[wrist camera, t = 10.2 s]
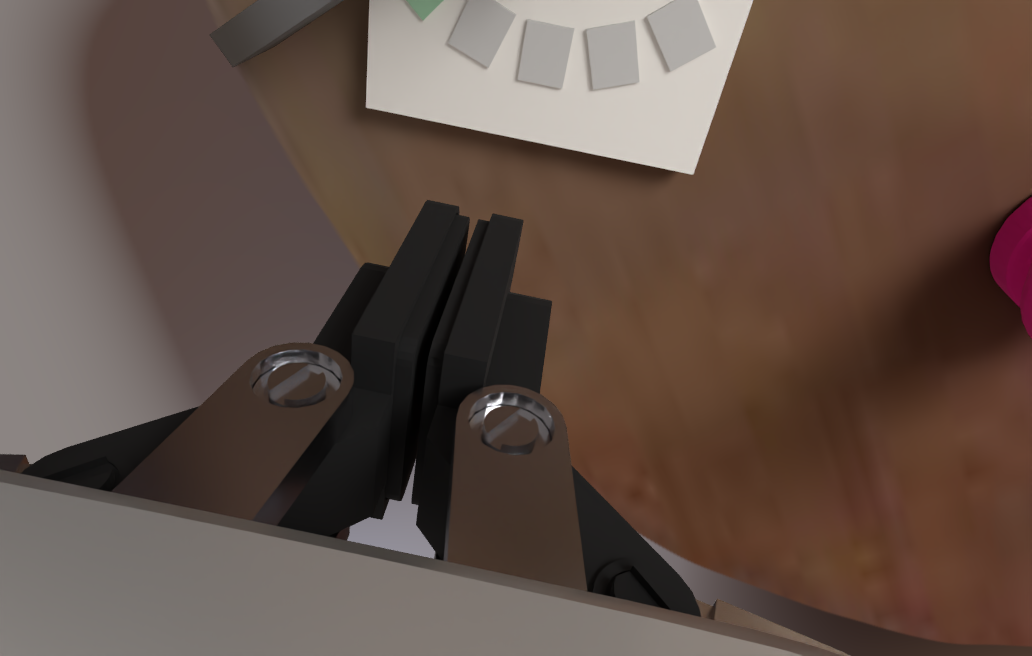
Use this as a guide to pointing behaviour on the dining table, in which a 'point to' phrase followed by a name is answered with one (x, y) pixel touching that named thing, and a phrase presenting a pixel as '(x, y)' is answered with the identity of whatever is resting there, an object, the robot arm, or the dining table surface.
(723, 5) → the dial board
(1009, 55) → the dining table surface
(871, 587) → the dining table surface
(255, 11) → the brown grey handled piece
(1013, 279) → the pepper mill
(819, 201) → the dining table surface
